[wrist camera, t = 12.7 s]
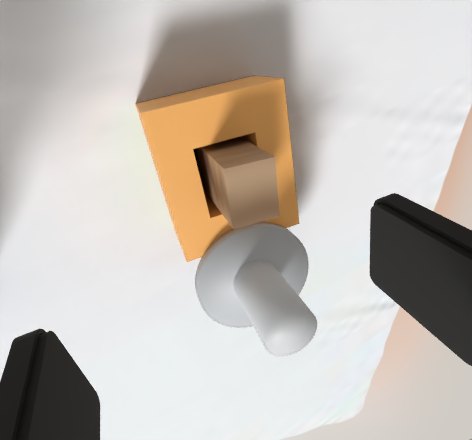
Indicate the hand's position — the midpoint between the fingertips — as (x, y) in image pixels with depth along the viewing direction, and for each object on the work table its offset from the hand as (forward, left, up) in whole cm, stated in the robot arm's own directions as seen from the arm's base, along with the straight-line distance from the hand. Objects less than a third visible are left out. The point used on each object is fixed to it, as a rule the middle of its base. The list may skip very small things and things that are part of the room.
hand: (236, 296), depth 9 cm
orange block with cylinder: (+9, +6, -27) cm, 29 cm away
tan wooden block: (+4, +6, -27) cm, 28 cm away
